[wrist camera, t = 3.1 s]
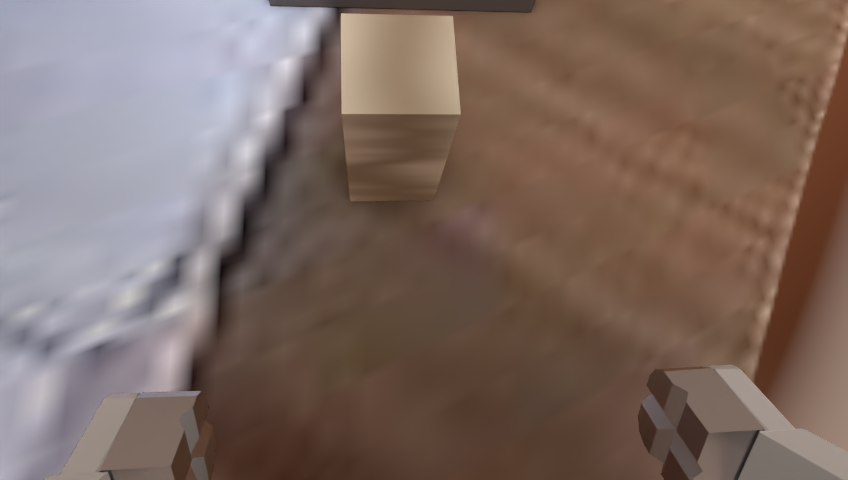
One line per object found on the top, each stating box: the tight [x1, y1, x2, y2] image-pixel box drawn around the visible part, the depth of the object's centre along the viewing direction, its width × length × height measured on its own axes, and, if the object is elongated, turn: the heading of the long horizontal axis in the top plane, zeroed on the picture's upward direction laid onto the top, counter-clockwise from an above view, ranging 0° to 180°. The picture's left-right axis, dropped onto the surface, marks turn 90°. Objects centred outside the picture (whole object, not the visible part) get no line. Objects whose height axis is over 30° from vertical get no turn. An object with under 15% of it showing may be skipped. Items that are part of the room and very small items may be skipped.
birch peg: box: [341, 14, 461, 201], centre depth 22 cm, size 4×4×8 cm
